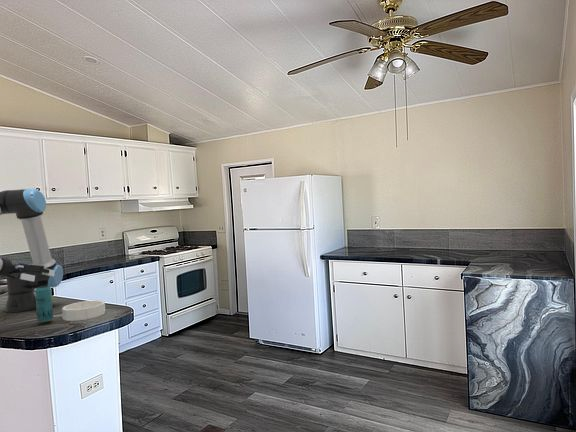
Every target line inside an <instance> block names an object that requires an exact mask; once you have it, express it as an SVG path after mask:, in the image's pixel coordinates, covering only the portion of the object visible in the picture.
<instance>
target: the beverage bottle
mask: <svg viewBox="0 0 576 432" xmlns="http://www.w3.org/2000/svg"><path fill="white" fill-rule="evenodd" d="M45 284H48V280H47V279H43V280H38V285H45ZM34 293H35V296H36V308H35V309H36V320H37V322H39V323H40V322H43V323H45V322H49V321H51V320H53V319H54V310H53V309H54V308H53V301H52V300H53V299H52V287H51V288H50V287H48V286H44V287H38V288H35V289H34Z"/></svg>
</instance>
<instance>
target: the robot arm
mask: <svg viewBox="0 0 576 432" xmlns="http://www.w3.org/2000/svg"><path fill="white" fill-rule="evenodd" d="M46 208H47V201H46V197H45V195H44V194H43V193H42V191H40V190H39V189H36V188H34V189H33V188H31V189H30V188H26V189H25V188H24V189H9V190H8V189H7V190H1V191H0V216H2V215H8V214H9V215H10V214H11V215H12V214H15V215H16V218H17V220H19V221H21V223H22V224H21V225H22V227H23V228H22V229H23V230H24V231H23V232H24V235H25V239H26V242H27V247H28V250H29V253H30V257H31V261H32V264H31V263H21V262H20V263H18V264H13V263H12V261H11V260H10V259H8V258H3V257H2V258H1V257H0V277H1V278H3V277H5V278H6V287H7V300H6V303H5V307H4V310H5V313H20V312H26V311H31V310H35V309H37V308H36V293H35V290H36V289H37V288H38V287H44V286H48V287H50V288H51V289H52V288H56V287H58V286H60V284H61V282H62V280H63V278H64V277H63V276H64V269H63V266H62V265H60V264H57V262H56V260H55V259H54V258H53V257H52V254H51V252H50V248H49V244H48V243H49V242H48V240H47V236H46V232H45V228H44V224H43V220H42V216H43V215H44V211H46ZM43 279H47V280H48V284H45V285H38V280H43Z"/></svg>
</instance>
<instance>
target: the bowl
mask: <svg viewBox="0 0 576 432" xmlns="http://www.w3.org/2000/svg"><path fill="white" fill-rule="evenodd" d="M61 313H62V317H61V318H62V321H66V322H77V321H86V320H91V319H94V318H95V319H96V318H99V317H101V316H102V315H103V316H104V315H105V313H106V303H105V301H103V300H86V301H85V300H84V301H79V302H74V303H71V304H67V305H64V306H63V307H61Z"/></svg>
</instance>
